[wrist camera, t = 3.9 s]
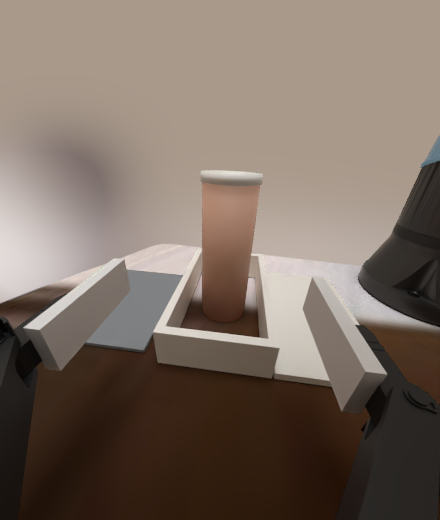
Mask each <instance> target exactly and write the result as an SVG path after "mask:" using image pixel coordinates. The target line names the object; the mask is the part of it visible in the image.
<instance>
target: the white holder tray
mask: <svg viewBox="0 0 440 520" xmlns="http://www.w3.org/2000/svg"><path fill="white" fill-rule="evenodd" d="M201 273H202V249H197V251H196V253H195V255H194V256H193V258H192V260H191V262H190V264H189V266H188V268H187V269H186V271H185V273H184V275H183V277H182V279H181V281H180V282H179V284H178V286H177V288H176V290H175V292H174V294H173V296H172V297H171V299H170V301H169V303H168V305H167V307H166V309H165V310H164V312H163V314H162V316H161V318H160V320H159V322H158V323H157V325H156V327H155V329H154V331H153V336H154V343H155V349H156V355H157V362H158V363H164V364H171V365H178V366H185V367H192V368H200V369H207V370H214V371H221V372H228V373H235V374H243V375H250V376H257V377H264V378H271V379H272V376H273V375H274V379H278V380H285V381H293V382H300V383H307V384H314V385H321V386H328V387H332V385H331V383H330V380H329V377H328V375H327V372H326V369H325V367H324V364H323V362H322V359H321V356H320V354H319V351H318V348H317V346H316V343H315V341H314V338H313V335H312V333H311V330H310V327H309V325H308V322H307V319H306V317H305V314H304V312H303V305H304V302H305V299H306V295H307V292H308V289H309V286H310V282H311V279H312V277H310V276H299V275H289V274H278V273H268V272H266V268H265V262H264V256H263V254H252V253H251V260H250V267H249V275H248V277H251V278H255V282H256V295H257V308H258V322H259V335H260V338H257V337H249V336H241V335H233V334H225V333H216V332H208V331H200V330H192V329H184V328H180V326H181V324H182V321H183V319H184V316H185V314H186V311H187V308H188V306H189V303H190V301H191V298H192V296H193V293H194V291H195V288H196V285H197V283H198V280H199V278H200V275H201ZM319 278H320V277H319ZM324 279H325V280H326V282H327V283H328V285H329V286H330V288H331V289H332V291H333V292H334V294H335V295H336V297H337V298H338V300H339V301H340V303H341V304H342V306H343V307H344V309H345V311H346V312H347V314H348V315H349V317H350V318H351V320H352V321H353V323H354V324H355V325H359V323H358V322H357V320H356V319H355V317H354V316H353V314H352V313H351V311H350V310H349V309H348V307H347V306H346V304H345V303H344V301H343V300H342V298H341V297H340V295H339V294H338V292H337V291H336V289H335V288H334V287H333V285H332V284H331V282H330V281H329V279H328V278H324Z"/></svg>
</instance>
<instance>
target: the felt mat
mask: <svg viewBox="0 0 440 520" xmlns="http://www.w3.org/2000/svg"><path fill="white" fill-rule="evenodd" d="M126 271H127V276H128V281H129V285H130V290H131V291H130V292H129V293H128V294H127V295H126V296H125V298H124V299H123V300H122V301H121V302H120V303H119V304H118V306H117V307H116V308H115V309H114V310H113V311H112V312H111V314H110V315H109V316H108V317H107V318H106V319H105V321H104V322H103V323H102V324H101V325H100V326H99V327H98V329H97V330H96V331H95V332H94V333H93V334H92V336H91V337H90V338H89V339H88V340H87V341H86V342H85V344H84V345H90V346H97V347H104V348H112V349H119V350H126V351H134V352H141V353H144V352H145V350H146V349H147V347H148V345H149V343H150V341H151V339H152V337H153V331H154V329H155V327H156V325H157V323H158V322H159V320H160V318H161V316H162V314H163V312H164V310H165V309H166V307H167V305H168V303H169V301H170V299H171V297H172V296H173V294H174V292H175V290H176V288H177V286H178V284H179V282H180V281H181V279H182V277H183V275H175V274H165V273H155V272H145V271H135V270H126Z"/></svg>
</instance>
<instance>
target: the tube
mask: <svg viewBox="0 0 440 520" xmlns="http://www.w3.org/2000/svg"><path fill="white" fill-rule="evenodd" d="M262 178H263V174H260V173H252V172H241V171H221V170H220V171H219V170H211V171H210V170H207V171H201V181H202V310H203V313H204V314H205V315H206V316H207V317H208V318H209V319H211V320H213V321H216V322H221V323H227V322H233V321H235V320H237V319H239V318H240V317H241V316H242V315H243V313H244V307H245V299H246V291H247V283H248V275H249V267H250V260H251V252H252V244H253V236H254V228H255V220H256V212H257V205H258V196H259V189H260V185H261V184H262Z"/></svg>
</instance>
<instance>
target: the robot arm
mask: <svg viewBox="0 0 440 520" xmlns="http://www.w3.org/2000/svg"><path fill="white" fill-rule="evenodd" d="M421 168H422V169H421V171H420V173H419V175H418V178H417V180H416V182H415V184H414V187H413V188H412V191H411V193H410V195H409V197H408V199H407V202H406V204H405V206H404V208H403V210H402V212H401V215H400V217H399V219H398V221H397V223H396V225H395V227H394V230H393V232H392V234H391V236H390V237H389V238H388V239H387V240H386V241H385V242H384V243H383V244H382V245H381V247H380V248H379V249H378V250H377V251H376V252H375V253H374V254H373V255H372V257H371V258H370V259H369V260H367V261H366V262H365V263H364V265H363V266H362V269H361V271H360V273H359V276H358V278H359V281H360V283H361V285H362V286H363V287H364V288H365V289H366V290H367V291H368V292H369V293H370V294H372V295H373V296H374V297H376V298H377V299H379V300H380V301H382V302H383V303H385V304H387V305H389V306H391V307H392V308H394V309H396V310H399V311H401V312H403V313H405V314H407V315H410V316H412V317H415V318H417V319H420V320H423V321H426V322H429V323H432V324H436V325H439V326H440V135H439V137H438V138H437V140H436V142H435V143H434V145H433V148H432V149H431V151H430V153H429V155H428V157H427V158H426V161H425V162H424V163H422V165H421ZM130 291H131V290H130V285H129V281H128V276H127V271H126V266H125V261H124V259H115V258H114V259H113V260H111V261H110V262H109V263H107V264H106V265H105V266H103V267H102V268H101V269H99V270H98V271H97V272H96V273H94V274H93V275H92V276H90V277H89V278H88V279H86V280H85V281H84V282H82V283H81V284H80V285H78V286H77V287H76V288H75V289H73V290H72V291H71V292H69V293H66V294H64V295H62V296H60V297H58V298H56V299H54V300H53V301H52V302H50V303H49V304H48V305H47V306H45V307H44V308H42V309H41V310H40V311H38V312H37V313H36V314H34V315H33V316H31V317H30V318H29V319H27V320H26V321H25V322H23V323H22V324H21V325H19V326H18V327H17V328H15V329H14V330H13V328H12V326H11V325H10V323H9V321H8V320H7V319H6V318H5V317H0V520H17V519H18V512H19V505H20V498H21V490H22V483H23V476H24V469H25V461H26V454H27V447H28V440H29V432H30V425H31V418H32V411H33V404H34V396H35V389H36V382H37V375H38V371H37V368H36V366H37V365H38V364H39V363H40V362H41V361H42V362H43V364H44V365H45V367H46V369H51V370H58V371H61V370H62V369H63V368H64V367H65V366H66V364H67V363H68V362H69V361H70V360H71V359H72V357H73V356H74V355H75V354H76V353H77V352H78V351H79V349H80V348H81V347H82V346H83V345H84V344H85V342H86V341H87V340H88V339H89V338H90V337H91V336H92V334H93V333H94V332H95V331H96V330H97V329H98V327H99V326H100V325H101V324H102V323H103V322H104V321H105V319H106V318H107V317H108V316H109V315H110V314H111V312H112V311H113V310H114V309H115V308H116V307H117V306H118V304H119V303H120V302H121V301H122V300H123V299H124V298H125V296H126V295H127V294H128V293H129V292H130ZM303 312H304V314H305V317H306V319H307V322H308V325H309V327H310V330H311V333H312V335H313V338H314V341H315V343H316V346H317V348H318V351H319V354H320V356H321V359H322V362H323V364H324V367H325V369H326V372H327V375H328V377H329V380H330V383H331V385H332V388H333V391H334V393H335V396H336V398H337V401H338V404H339V406H340V409H341V412H348V413H355V414H361V412H362V411H363V409H364V408H365V407H366V409H367V411H368V413H369V415H370V418H369V419H368V421H367V422H366V423H365V425H364V426H363V427H362V429H361V430H362V431H363V432H364V433H363V436H362V439H361V442H360V445H359V448H358V451H357V454H356V457H355V460H354V463H353V466H352V469H351V472H350V475H349V478H348V481H347V484H346V487H345V490H344V493H343V496H342V499H341V502H340V505H339V508H338V511H337V514H336V517H335V520H438V499H440V405H439V404H437V403H436V401H435V400H434V399H433V398H432V397H431V396H430V395H429V394H428V393H427V392H425V391H424V390H422V389H421V388H420V387H418V386H416V385H414V384H412V383H409V382H408V381H407V380H406V378H405V377H404V376H403V374H402V373H401V371H400V370H399V369H398V367H397V366H396V365H395V363H394V362H393V360H392V359H391V358H390V356H389V355H388V354H387V352H385V350H384V348H383V347H382V345H381V344H379V341H378V340H377V339H376V337H375V336H374V334H373V333H372V332H370V331H369V330H368V329H367V328H366V327H364V326H363V325H355V324H354V323H353V321H352V320H351V318H350V317H349V315H348V314H347V312H346V311H345V309H344V307H343V306H342V304H341V303H340V301H339V300H338V298H337V297H336V295H335V294H334V292H333V291H332V289H331V288H330V286H329V285H328V283H327V282H326V280H325V279H324V278H319V277H312V279H311V282H310V286H309V289H308V292H307V295H306V299H305V302H304V305H303Z"/></svg>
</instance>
